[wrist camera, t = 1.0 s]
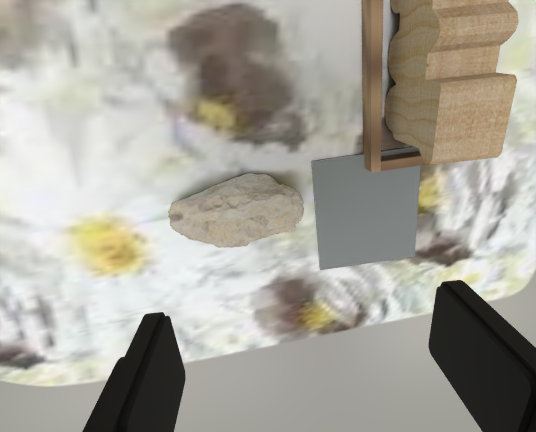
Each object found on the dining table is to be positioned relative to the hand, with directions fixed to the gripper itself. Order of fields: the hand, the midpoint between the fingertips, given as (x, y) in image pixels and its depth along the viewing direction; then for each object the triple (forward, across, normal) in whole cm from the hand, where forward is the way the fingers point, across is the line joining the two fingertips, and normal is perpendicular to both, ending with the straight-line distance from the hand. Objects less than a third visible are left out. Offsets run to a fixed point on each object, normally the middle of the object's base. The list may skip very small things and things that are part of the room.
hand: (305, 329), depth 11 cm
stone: (+25, +4, +4) cm, 26 cm away
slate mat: (+25, -11, +7) cm, 28 cm away
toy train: (+25, -15, -9) cm, 31 cm away
